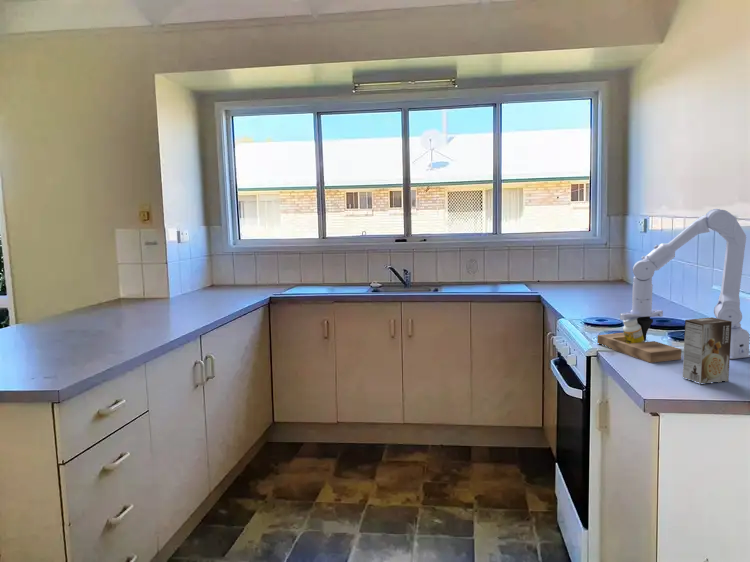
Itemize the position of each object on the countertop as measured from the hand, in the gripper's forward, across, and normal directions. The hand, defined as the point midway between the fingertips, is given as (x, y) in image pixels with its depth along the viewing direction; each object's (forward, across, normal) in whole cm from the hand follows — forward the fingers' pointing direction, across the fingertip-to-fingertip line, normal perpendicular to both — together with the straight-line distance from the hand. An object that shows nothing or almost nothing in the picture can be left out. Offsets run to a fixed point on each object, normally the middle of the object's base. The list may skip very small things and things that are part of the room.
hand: (640, 340), depth 189 cm
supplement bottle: (+2, +2, 0) cm, 3 cm away
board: (+2, +4, +3) cm, 6 cm away
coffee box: (+2, +8, +33) cm, 34 cm away
